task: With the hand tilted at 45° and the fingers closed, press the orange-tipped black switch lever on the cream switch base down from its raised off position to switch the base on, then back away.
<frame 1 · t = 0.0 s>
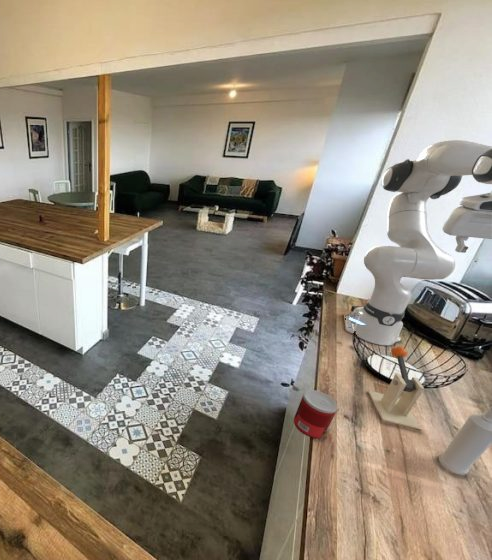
hand: (482, 254, 84), 48 cm above the countertop, tool pointing down, fingers open, 8 cm apart
switch lever: (402, 367, 94), point 13 cm above the countertop, hinge at 25.0°
bottle: (450, 467, 80), on the countertop
switch base: (391, 411, 95), on the countertop
canned food: (308, 427, 90), on the countertop
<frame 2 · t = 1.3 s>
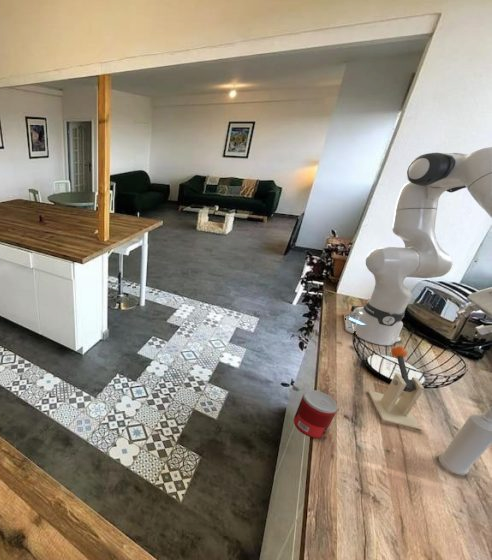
hand: (467, 323, 87), 29 cm above the countertop, tool tilted 45°, fingers open, 8 cm apart
nothing on the countertop moved.
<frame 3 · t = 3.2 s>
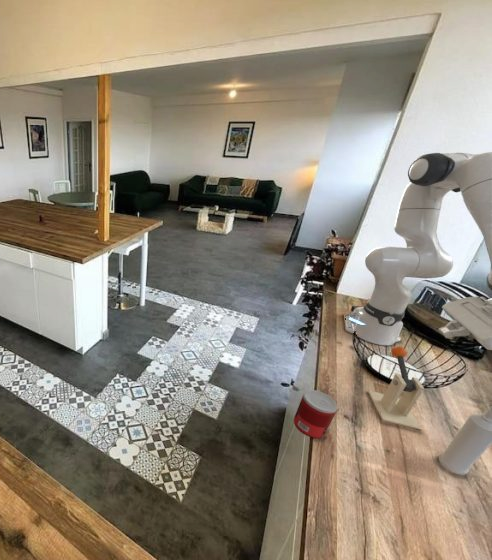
hand: (442, 333, 90), 25 cm above the countertop, tool tilted 45°, fingers closed
nothing on the countertop moved.
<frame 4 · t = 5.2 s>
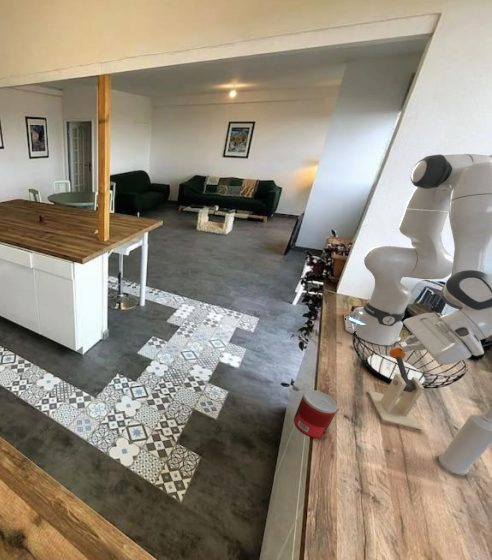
hand: (401, 347, 96), 17 cm above the countertop, tool tilted 45°, fingers closed, pressing on switch lever
switch lever: (401, 368, 94), point 13 cm above the countertop, hinge at 20.8°, touching gripper
everything else where it was.
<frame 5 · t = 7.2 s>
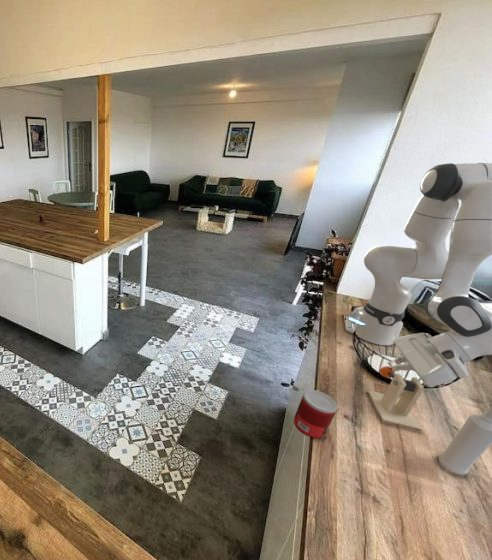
hand: (390, 367, 100), 9 cm above the countertop, tool tilted 45°, fingers closed, pressing on switch lever
switch lever: (396, 378, 96), point 9 cm above the countertop, hinge at -20.4°, touching gripper
everything else where it was.
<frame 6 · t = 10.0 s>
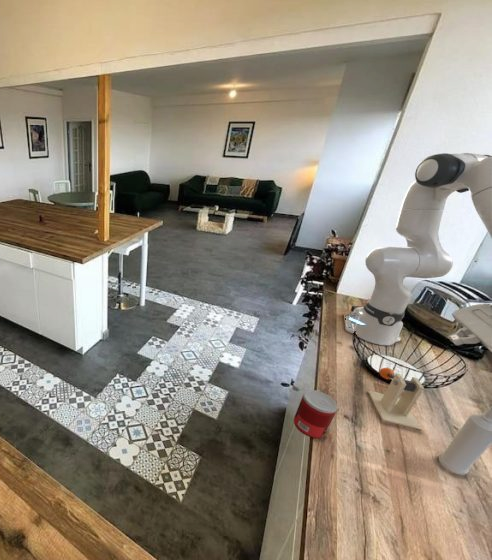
hand: (451, 340, 90), 23 cm above the countertop, tool tilted 45°, fingers closed
switch lever: (396, 378, 96), point 9 cm above the countertop, hinge at -22.6°
everything else where it was.
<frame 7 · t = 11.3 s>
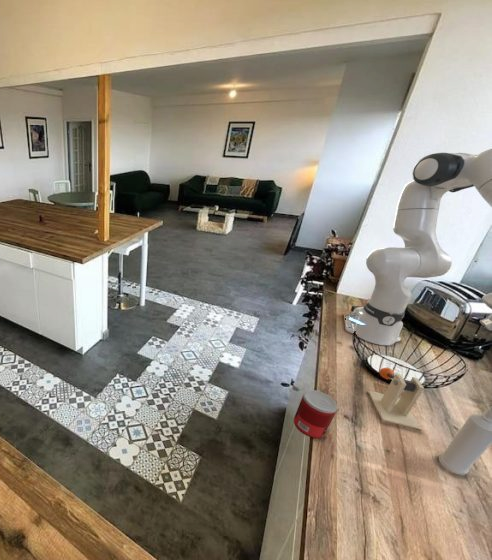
hand: (484, 325, 86), 29 cm above the countertop, tool tilted 45°, fingers closed
nothing on the countertop moved.
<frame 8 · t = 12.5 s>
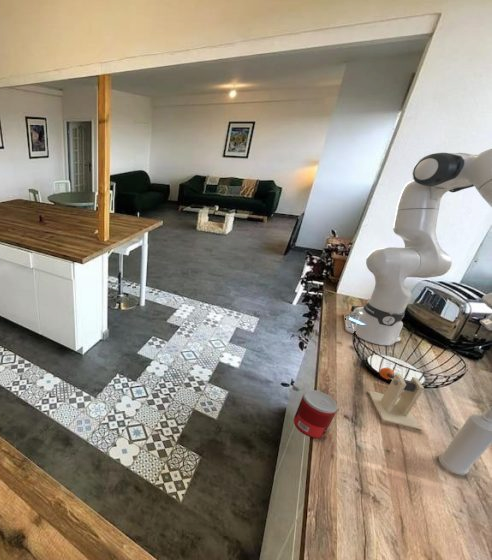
hand: (484, 325, 86), 29 cm above the countertop, tool tilted 45°, fingers closed
nothing on the countertop moved.
at the end: switch lever at -23° (first picture: +25°); switch lever reached +25° during the clip, -23° at the end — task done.
